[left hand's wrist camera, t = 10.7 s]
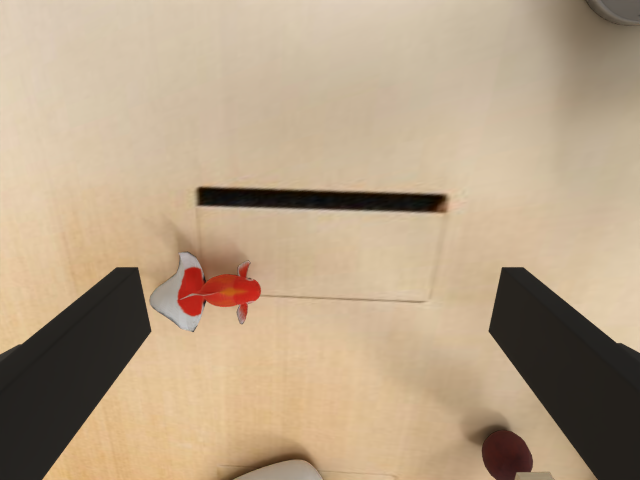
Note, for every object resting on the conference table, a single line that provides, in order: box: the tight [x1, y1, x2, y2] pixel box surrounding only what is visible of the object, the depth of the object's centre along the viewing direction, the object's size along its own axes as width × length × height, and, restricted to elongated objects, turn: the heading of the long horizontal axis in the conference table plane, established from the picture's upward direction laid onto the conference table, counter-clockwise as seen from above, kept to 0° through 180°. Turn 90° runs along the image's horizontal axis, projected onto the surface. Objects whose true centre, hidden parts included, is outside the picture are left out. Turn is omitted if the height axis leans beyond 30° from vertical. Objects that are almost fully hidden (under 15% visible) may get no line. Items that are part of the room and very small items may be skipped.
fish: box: [150, 252, 261, 332], centre depth 45 cm, size 11×16×10 cm
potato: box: [482, 430, 533, 480], centre depth 57 cm, size 7×8×7 cm
